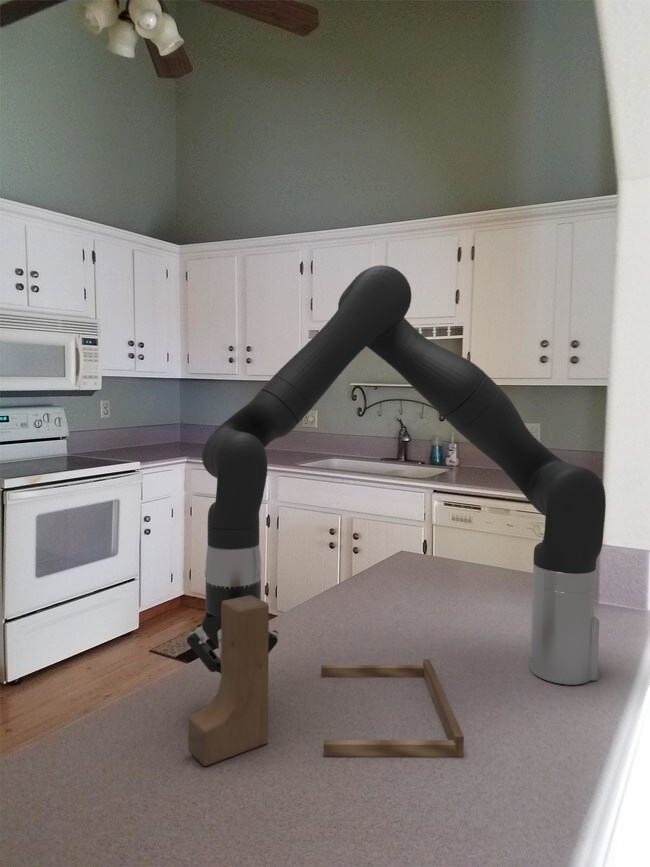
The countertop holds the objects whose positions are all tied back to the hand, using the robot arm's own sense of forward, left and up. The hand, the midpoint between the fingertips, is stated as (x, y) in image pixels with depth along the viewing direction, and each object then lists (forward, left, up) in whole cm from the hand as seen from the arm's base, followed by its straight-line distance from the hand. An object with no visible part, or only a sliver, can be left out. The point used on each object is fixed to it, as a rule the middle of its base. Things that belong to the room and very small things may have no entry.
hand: (233, 699), depth 89 cm
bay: (-20, 0, -2) cm, 20 cm away
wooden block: (-1, +10, -2) cm, 10 cm away
